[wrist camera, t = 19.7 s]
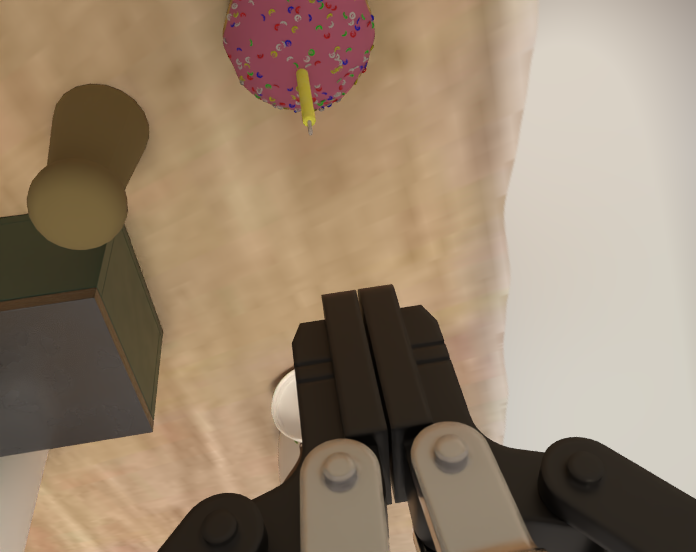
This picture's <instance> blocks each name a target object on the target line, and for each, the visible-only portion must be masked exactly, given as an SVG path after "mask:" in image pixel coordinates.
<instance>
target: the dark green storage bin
mask: <svg viewBox="0 0 696 552" xmlns="http://www.w3.org/2000/svg"><path fill="white" fill-rule="evenodd" d="M95 287H96V288H97V290H98V292H99V295H100V297H101V299H102V302H103V304H104V306H105V309H106V311H107V313H108V316H109V318H110V320H111V323H112V325H113V327H114V330H115V332H116V334H117V337H118V339H119V341H120V344H121V346H122V348H123V351H124V353H125V355H126V358H127V360H128V362H129V365H130V367H131V369H132V372H133V374H134V376H135V379H136V381H137V383H138V386H139V388H140V390H141V393H142V395H143V397H144V400H145V402H146V404H147V407H148V409H149V411H150V414H151V416H152V418H153V420H154V413H155V404H156V394H157V384H158V375H159V365H160V356H161V346H162V336H163V331H162V328H161V325H160V322H159V320H158V317H157V314H156V311H155V309H154V306H153V303H152V300H151V297H150V295H149V292H148V289H147V286H146V284H145V281H144V278H143V275H142V273H141V270H140V267H139V264H138V262H137V259H136V256H135V253H134V251H133V248H132V245H131V242H130V240H129V237H128V234H127V231H126V229H125V226H124V225H123V227H122V229H121V230H120V232H119V233H118V234H117V235H116V236H115V237H114V238H113V239H112V240H111V241H109V242H107V243H106V244H104V245H102V246H100V247H97V248H92V249H88V250H72V249H68V248H64V247H61V246H58V245H56V244H54V243H52V242H51V241H49V240H47V239H46V238H45V237H44V236H43V235H42V234H41V233H40V232H39V231H38V230H37V229H36V228H35V226H34V224H33V223H32V221H31V219H30V217H29V214H26V215H19V216H12V217H5V218H0V302H2V301H9V300H15V299H22V298H29V297H35V296H42V295H49V294H55V293H62V292H69V291H75V290H82V289H89V288H95Z"/></svg>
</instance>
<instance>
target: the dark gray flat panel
mask: <svg viewBox="0 0 696 552" xmlns="http://www.w3.org/2000/svg"><path fill="white" fill-rule="evenodd" d="M153 424H154V421H153V418H152V416H151V414H150V411H149V409H148V407H147V404H146V402H145V400H144V397H143V395H142V393H141V390H140V388H139V386H138V383H137V381H136V379H135V376H134V374H133V372H132V369H131V367H130V365H129V362H128V360H127V358H126V355H125V353H124V351H123V348H122V346H121V344H120V341H119V339H118V337H117V334H116V332H115V330H114V327H113V325H112V323H111V320H110V318H109V316H108V313H107V311H106V309H105V306H104V304H103V302H102V299H101V297H100V295H99V292H98V290H97V288H96V287H95V288H89V289H82V290H75V291H69V292H62V293H55V294H49V295H42V296H35V297H29V298H22V299H15V300H9V301H2V302H0V457H4V456H10V455H16V454H22V453H28V452H34V451H40V450H46V449H53V448H59V447H65V446H71V445H77V444H83V443H89V442H95V441H101V440H107V439H113V438H120V437H126V436H132V435H138V434H144V433H150V432H153Z"/></svg>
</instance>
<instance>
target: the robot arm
mask: <svg viewBox="0 0 696 552" xmlns="http://www.w3.org/2000/svg"><path fill="white" fill-rule="evenodd" d="M358 300H359V301H358ZM322 303H323V310H324V318H325V320H319V321H313V322H306V323H300V325H299V327H298V330H297V332H296V334H295V337H294V339H293V342H292V349H293V359H294V367H295V378H296V387H297V397H298V407H299V416H300V426H301V436H302V456H301V459H300V462H299V464H298V466H297V468H296V470H295V471H294V472H293V474H292V475H291V476H290V477H289V478H288V479H287V480H286V481H285V482H284V483H282V484H281V485H280V486H278V487H276V488H274V489H273V490H271V491H269V492H267V493H265V494H263V495H261V496H259V497H257V498H255V499H253V500H250V499H249V498H247V497H245V496H243V495H240V494H235V493H222V494H217V495H213V496H211V497H208V498H206V499H204V500H203V501H201V502H199V503H198V504H197V505H196V506H195V507H193V508H192V509H191V511H190V512H189V513H188V514H187V515H186V516H185V518H184V519H183V520H182V521H181V523H180V524H179V525H178V526H177V528H176V529H175V530H174V531H173V533H172V534H171V535H170V536H169V538H168V539H167V540H166V542H165V543H164V544H163V545H162V547H161V548H160V549H159V550H158V552H390V548H389V529H388V514H387V505H389V504H392V497H391V485H392V490H393V495H394V499H395V503H400V502H405V501H408V506H409V510H410V514H411V519H412V523H413V540H414V544H415V548H416V551H417V552H696V499H695V498H693V497H691V496H690V495H688V494H686V493H684V492H683V491H681V490H679V489H678V488H676V487H674V486H672V485H671V484H669V483H668V482H666V481H664V480H662V479H661V478H659V477H657V476H656V475H654V474H652V473H651V472H649V471H647V470H646V469H644V468H642V467H641V466H639V465H637V464H636V463H634V462H632V461H630V460H628V459H627V458H625V457H624V456H622V455H620V454H618V453H617V452H615V451H613V450H612V449H610V448H608V447H607V446H605V445H603V444H601V443H599V442H597V441H594V440H591V439H587V438H581V437H569V438H564V439H561V440H559V441H556V442H555V443H553V444H552V445H551V446H550V447H548V449H547V450H546V452H545V453H544V452H537V451H528V450H521V449H514V448H509V447H506V446H503V445H500V444H498V443H496V442H493V441H492V440H490V439H489V438H487V437H486V436H485V435H483V434H482V433H481V432H480V431H479V430H478V429H477V427H476V426H475V424H474V423H473V421H472V419H471V416H470V414H469V411H468V408H467V405H466V402H465V399H464V396H463V394H462V391H461V388H460V385H459V382H458V379H457V376H456V373H455V371H454V368H453V365H452V362H451V360H450V357H449V353H448V350H447V348H446V345H445V344H444V339H443V336H442V333H441V330H440V328H439V325H438V322H437V320H436V319H435V318H434V317H433V316H432V315H431V314H430V313H429V312H428V311H427V310H426V309H425V308H424V307H423V306H422V305H417V306H410V307H404V308H400V306H399V303H398V299H397V296H396V293H395V289H394V286H393V285H392V284H390V285H383V286H376V287H370V288H363V289H358V297H357V293H356V290H351V291H344V292H337V293H331V294H324V295H322Z"/></svg>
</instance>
